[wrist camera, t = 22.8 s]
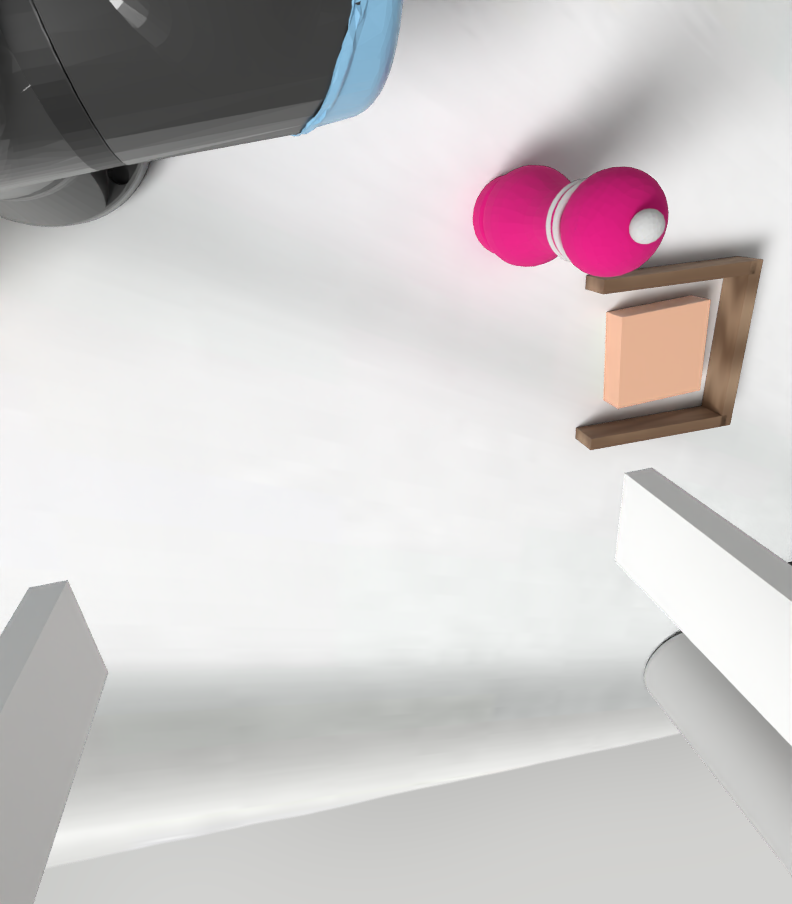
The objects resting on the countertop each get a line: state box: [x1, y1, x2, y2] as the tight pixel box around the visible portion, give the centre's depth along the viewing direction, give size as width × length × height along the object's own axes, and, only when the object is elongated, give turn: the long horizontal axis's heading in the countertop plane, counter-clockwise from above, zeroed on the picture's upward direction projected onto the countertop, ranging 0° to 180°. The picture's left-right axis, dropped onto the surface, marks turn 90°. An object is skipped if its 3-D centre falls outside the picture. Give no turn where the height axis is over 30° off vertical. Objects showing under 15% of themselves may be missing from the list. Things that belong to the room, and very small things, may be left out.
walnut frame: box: [576, 256, 763, 450], centre depth 54 cm, size 16×16×3 cm
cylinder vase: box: [644, 633, 792, 876], centre depth 66 cm, size 12×12×25 cm
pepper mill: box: [473, 165, 668, 277], centre depth 38 cm, size 7×7×20 cm
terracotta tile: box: [603, 295, 711, 409], centre depth 54 cm, size 9×9×3 cm
